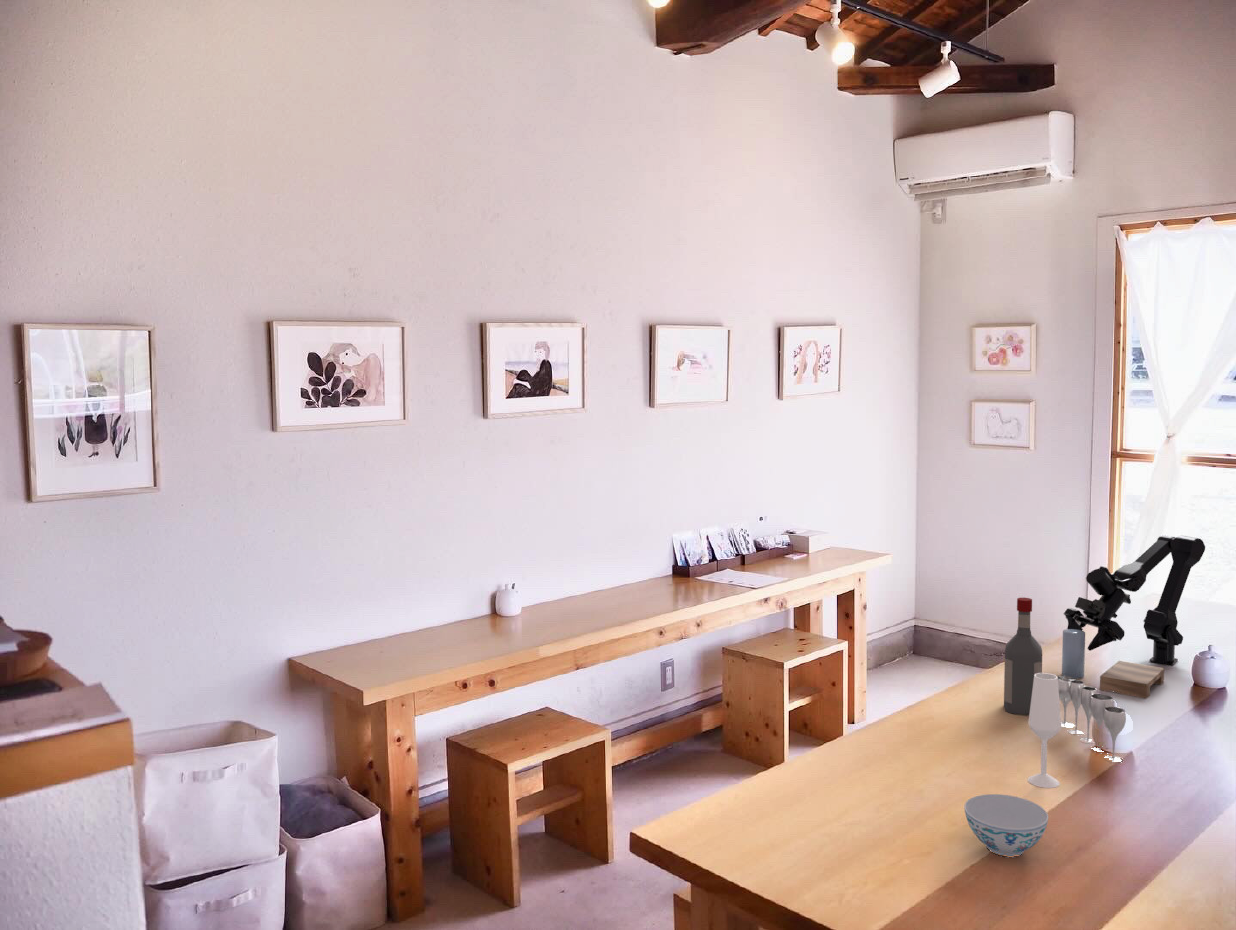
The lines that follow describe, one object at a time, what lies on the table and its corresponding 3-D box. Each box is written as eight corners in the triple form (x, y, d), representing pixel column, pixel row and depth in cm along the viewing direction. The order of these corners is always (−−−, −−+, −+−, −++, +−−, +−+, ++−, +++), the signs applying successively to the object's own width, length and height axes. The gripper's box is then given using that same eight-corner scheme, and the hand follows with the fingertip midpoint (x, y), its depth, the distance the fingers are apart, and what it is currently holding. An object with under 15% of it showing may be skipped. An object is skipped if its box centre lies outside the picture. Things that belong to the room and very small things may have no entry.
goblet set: (1130, 762, 236) (1132, 707, 234) (1106, 764, 235) (1108, 708, 234) (1070, 720, 264) (1071, 670, 262) (1048, 721, 263) (1049, 671, 262)
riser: (1118, 674, 300) (1118, 660, 299) (1163, 681, 292) (1164, 668, 291) (1099, 689, 286) (1100, 676, 286) (1146, 698, 278) (1147, 684, 278)
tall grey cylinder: (1065, 670, 304) (1066, 628, 302) (1086, 674, 300) (1088, 631, 298) (1058, 675, 299) (1059, 632, 298) (1080, 679, 295) (1081, 635, 294)
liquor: (1003, 713, 269) (1005, 601, 266) (1004, 702, 278) (1006, 594, 274) (1041, 717, 266) (1043, 604, 263) (1040, 706, 274) (1043, 596, 271)
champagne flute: (1058, 777, 228) (1061, 672, 226) (1061, 789, 222) (1063, 682, 220) (1026, 774, 231) (1028, 670, 228) (1027, 786, 224) (1030, 679, 222)
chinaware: (951, 833, 203) (951, 796, 202) (1024, 829, 204) (1024, 792, 203) (984, 871, 188) (985, 831, 187) (1062, 866, 189) (1063, 826, 189)
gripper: (1069, 581, 308) (1038, 620, 305) (1118, 594, 290) (1085, 636, 288) (1089, 604, 311) (1059, 644, 309) (1138, 619, 293) (1107, 660, 291)
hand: (1076, 645), depth 299 cm, fingers open, 9 cm apart
